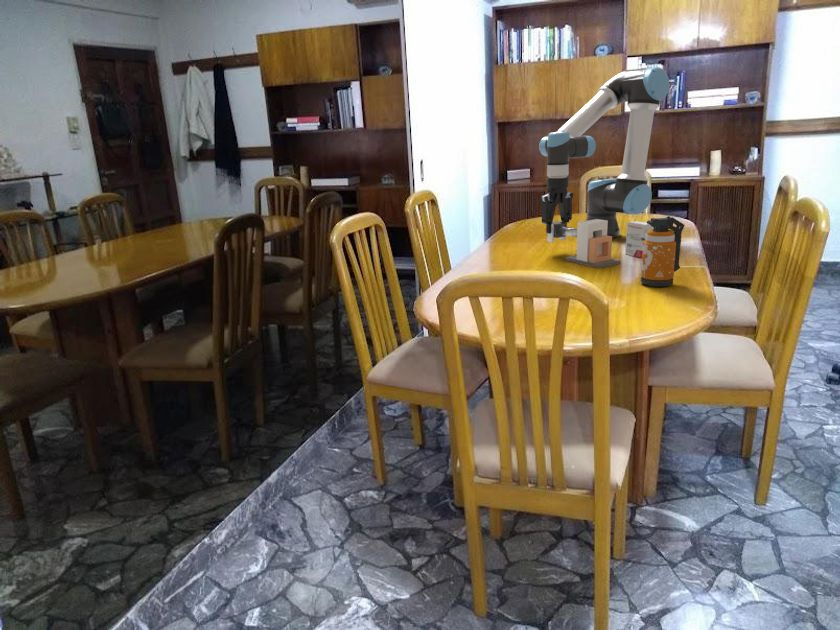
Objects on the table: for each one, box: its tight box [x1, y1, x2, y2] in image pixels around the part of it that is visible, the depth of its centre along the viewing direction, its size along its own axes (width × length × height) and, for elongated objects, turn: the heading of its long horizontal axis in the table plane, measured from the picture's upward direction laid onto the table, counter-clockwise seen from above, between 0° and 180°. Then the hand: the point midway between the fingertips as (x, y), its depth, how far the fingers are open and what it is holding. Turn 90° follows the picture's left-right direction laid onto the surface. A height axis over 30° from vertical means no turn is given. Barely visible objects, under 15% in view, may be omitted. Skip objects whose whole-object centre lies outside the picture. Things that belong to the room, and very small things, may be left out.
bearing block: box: [564, 219, 621, 269], centre depth 212 cm, size 16×10×14 cm, turn 30°
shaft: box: [552, 220, 596, 239], centre depth 220 cm, size 20×5×5 cm, turn 30°
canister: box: [640, 215, 686, 288], centre depth 180 cm, size 9×11×20 cm
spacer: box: [589, 236, 613, 263], centre depth 209 cm, size 2×8×8 cm, turn 120°
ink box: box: [624, 220, 654, 259], centre depth 218 cm, size 8×5×12 cm, turn 26°
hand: (556, 240), depth 228 cm, fingers closed on shaft, 5 cm apart
